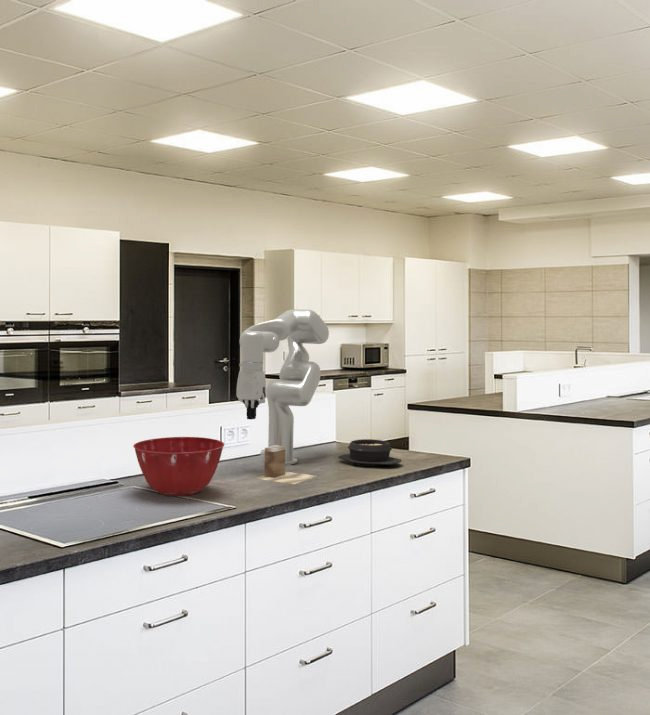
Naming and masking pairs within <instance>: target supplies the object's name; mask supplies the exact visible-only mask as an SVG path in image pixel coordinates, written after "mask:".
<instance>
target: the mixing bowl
mask: <svg viewBox="0 0 650 715" xmlns="http://www.w3.org/2000/svg"><path fill="white" fill-rule="evenodd" d="M224 446H225V442H223V441H222V440H218V439H214V438H209V437H199V436H171V437H170V436H169V437H159V438H150V439H146V440H145V439H144V440H141V441H138V442H135V443H134V444H133V446H132V447H133V448H134V451H135V455H136V459H137V462H138V466H139V468H140V470H141V473H142V475H143V477H144V479H145V481H146V482H147V485H149V487H150V488H151V489H152V490H154V492H157V493H158V494H159V493H160V494H159V495H162V494H163V495H162V496H166V495H170V497H187V496H193V495H197V494H199V493H200V492H202V491H203V490H204V489H206V488H207V487H208V485H209V484H210V482H211V481H212V480H213V477H214V475H215V473H216V470H217V468H218V465H219V463H220V460H221V457H222V454H223V453H222V452H223V449H224Z"/></svg>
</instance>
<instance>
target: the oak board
mask: <svg viewBox="0 0 650 715" xmlns="http://www.w3.org/2000/svg"><path fill="white" fill-rule="evenodd" d="M317 477H318V475H313V474H307V473H306V474H305V473H298V472H291V471H285V475H282V476H278V477H275V478H271V477H264V475H262V476H258V477H255V478H254V479H256V480H263V481H269V482H277V483H282V484H283V483H284V484H290V485H296V484H299V483H302V482H305V481H308V480H311V479H313V478H317Z"/></svg>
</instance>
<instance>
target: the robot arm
mask: <svg viewBox="0 0 650 715" xmlns="http://www.w3.org/2000/svg"><path fill="white" fill-rule="evenodd" d="M329 333H330V331H329V327H328V325H327V323H326V322H325V321H324V320H323V319H322V318H321V317H320V315H319V314H318V313H317V312H316V311H314V310H311V309H297V308H296V309H288V310H285V311H284V312H283V313H281V314H279V316H277V317H276V318H274V319H271V320H267V321H265V322H260V323H257V324H253V325H251V326H249V327H247V328H246V329H245V330H244V331H242V333H241V335H240V337H239V346H240V347H241V362H240V363H239V365H238V366H239V367H240V368H241V370H239V372H238V375H237V376H238V377H237V382H236V397H237V400H238V401H239V402H240V403H243V405H244V408H246V419H247V420H256V418H257V408H258V407H259V405H261V404H264V403H265V404H266V399H267V406H268V438H267V440H268V441H267V445H268V446H267V447H270V446H274V445H279V446H285V465H289V466H290V465H295V464H297V463H298V459H297V458H295V457H294V425H295V424H294V423H295V422H294V419H295V418H294V413H293V412H292V409H291V408H290V406H291V407H292V406H293V407H306V406H308V405H309V404H310V402H311V401H312V399H313V397H314V395H315V392H316V390H317V388H318V386H319V384H320V380H321V371H322V370H321V368H320V365H319V364H318V363H317V362H314V361H310V354H309V352H308V351H307V349H306V348H305V346H304V344H309V345H310V344H311V345H322V344H325V343H327V341H328V340H329V336H330V334H329ZM286 339H287V346H288V354H287V356H286V358H285V360H284V362H283V365H282V366H281V368H280V371H279V379H275V380H272V381H270V382H269V383H268V384H267V380H266V374H265V371H264V353H273V352H275V351H277V349H278V348H279V346H280V341H284V340H286ZM260 455H261V456H265V449H261V451H260ZM263 462H264V463H265V458H264V459H263Z"/></svg>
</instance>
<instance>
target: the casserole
mask: <svg viewBox="0 0 650 715" xmlns="http://www.w3.org/2000/svg"><path fill="white" fill-rule="evenodd" d="M347 449H348V450H349V453H345V454H341V455H339V456H338V457H337V458H338V459H339V460H342V461H348V462H351V463H353V464H355V465H358V466H363V467H381V466H384V465H386V466H387V465H388V466H389V465H397V464H399V463H401V462H402V459H399V458H397V457H392V456H390V453H391V451H392V449H393V448H392V447H391V444H390V442H389V441H387V440H381V439H374V438H373V439H370V438H369V439H368V438H366V439H364V438H363V439H362V438H361V439H355V440H352V441H350V443H349V445H348V446H347Z"/></svg>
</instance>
